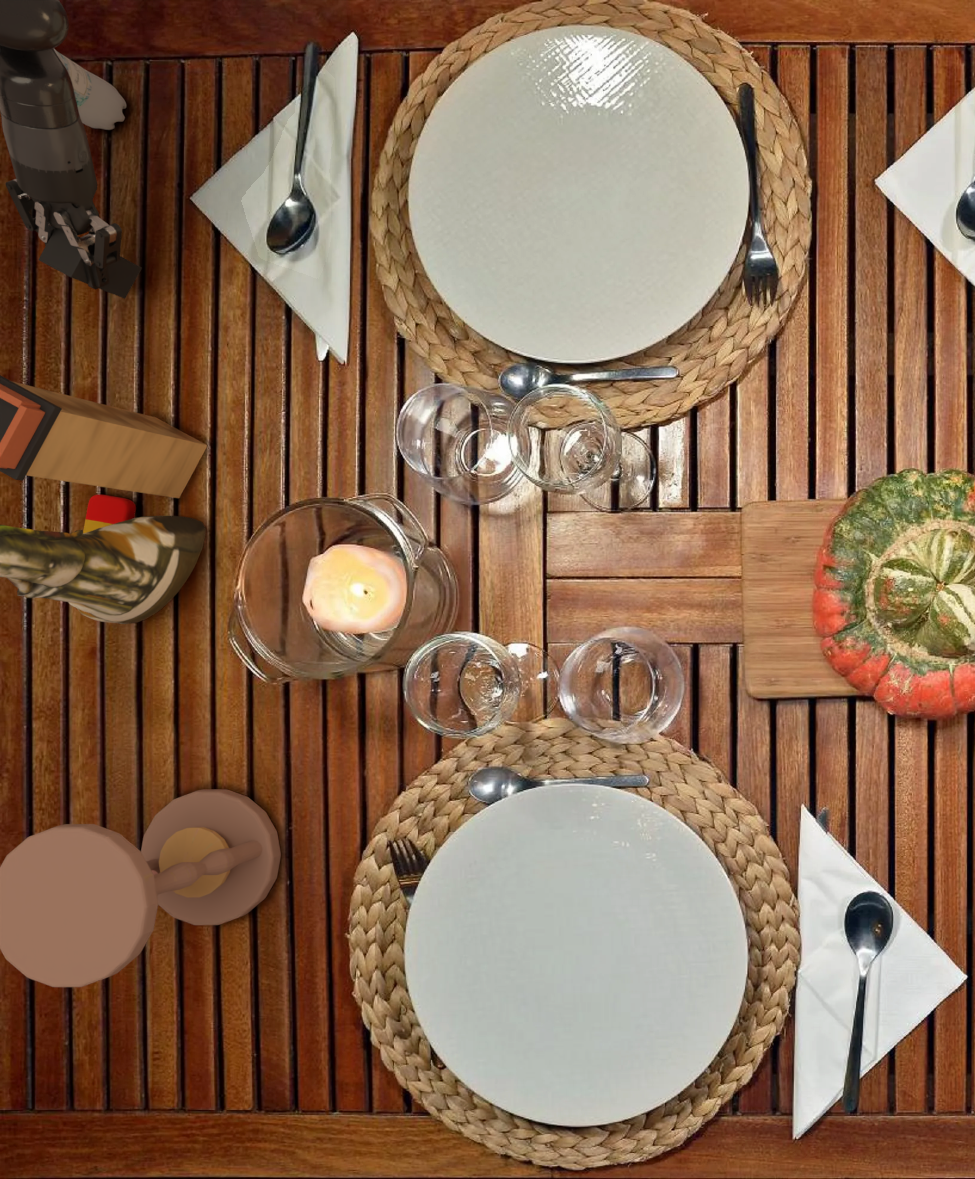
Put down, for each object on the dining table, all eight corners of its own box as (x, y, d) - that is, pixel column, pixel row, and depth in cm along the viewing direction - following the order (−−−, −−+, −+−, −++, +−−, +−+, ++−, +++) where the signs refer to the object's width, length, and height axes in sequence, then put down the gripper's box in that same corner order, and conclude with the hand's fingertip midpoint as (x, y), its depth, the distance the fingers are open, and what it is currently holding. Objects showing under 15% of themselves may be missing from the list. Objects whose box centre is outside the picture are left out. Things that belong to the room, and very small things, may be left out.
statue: (174, 496, 142) (-68, 460, 107) (237, 547, 142) (15, 527, 107) (97, 594, 142) (-170, 590, 107) (160, 645, 142) (-88, 657, 107)
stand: (127, 470, 142) (-42, 440, 117) (155, 417, 142) (-7, 376, 117) (179, 498, 142) (21, 474, 117) (207, 445, 142) (56, 410, 117)
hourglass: (284, 790, 141) (148, 829, 116) (280, 923, 141) (142, 991, 116) (152, 786, 141) (-11, 824, 116) (147, 919, 141) (-18, 986, 116)
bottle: (139, 128, 143) (12, 50, 123) (91, 142, 143) (-43, 65, 123) (126, 80, 143) (-2, -6, 123) (79, 94, 143) (-57, 10, 123)
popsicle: (139, 500, 142) (128, 499, 140) (119, 612, 142) (108, 612, 140) (99, 493, 142) (88, 492, 140) (79, 604, 142) (67, 604, 140)
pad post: (94, 282, 139) (37, 259, 130) (111, 251, 139) (56, 226, 130) (125, 299, 139) (70, 277, 130) (142, 267, 139) (89, 244, 130)
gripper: (-37, 130, 119) (3, 261, 131) (74, 190, 119) (104, 315, 131) (25, 111, 124) (58, 238, 136) (132, 168, 124) (155, 290, 136)
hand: (80, 275), depth 134 cm, fingers closed on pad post, 4 cm apart
